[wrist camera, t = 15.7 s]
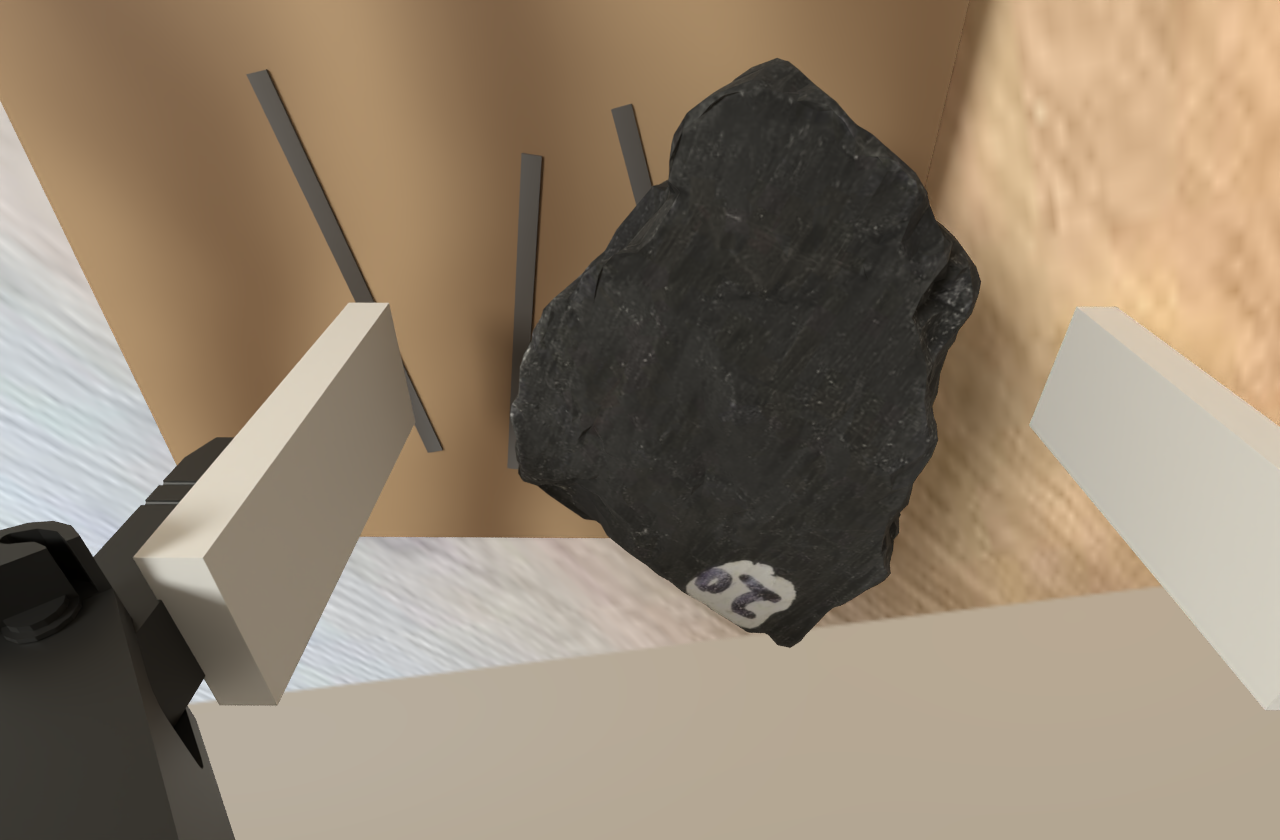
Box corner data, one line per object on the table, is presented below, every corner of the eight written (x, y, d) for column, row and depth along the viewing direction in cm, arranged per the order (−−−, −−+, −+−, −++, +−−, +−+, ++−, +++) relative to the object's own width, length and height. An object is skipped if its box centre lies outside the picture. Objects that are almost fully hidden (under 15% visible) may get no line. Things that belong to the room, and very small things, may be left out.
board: (232, 507, 20) (209, 537, 19) (-24, -67, 12) (-85, -70, 11) (831, 511, 20) (841, 540, 19) (957, -61, 12) (986, -63, 11)
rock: (784, 548, 19) (837, 743, 15) (467, 364, 16) (397, 538, 11) (1053, 317, 16) (1250, 477, 11) (711, 7, 12) (769, 31, 7)
